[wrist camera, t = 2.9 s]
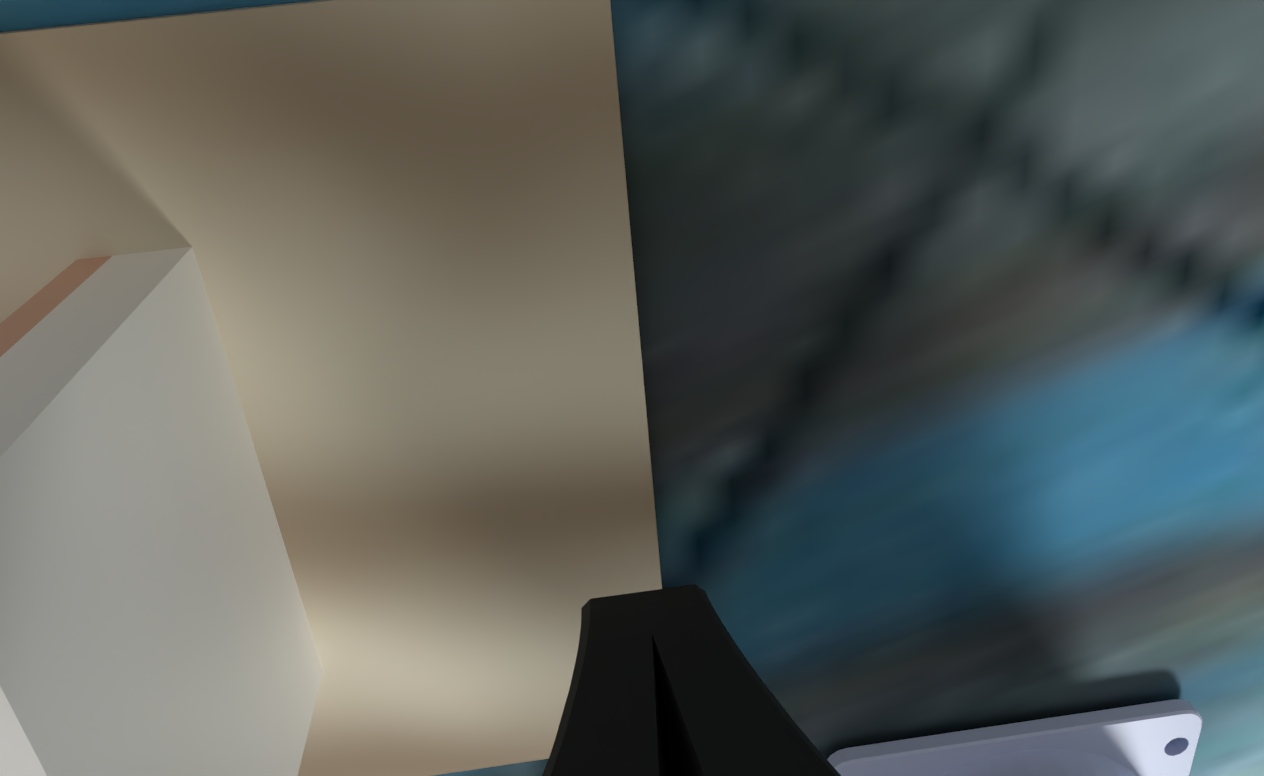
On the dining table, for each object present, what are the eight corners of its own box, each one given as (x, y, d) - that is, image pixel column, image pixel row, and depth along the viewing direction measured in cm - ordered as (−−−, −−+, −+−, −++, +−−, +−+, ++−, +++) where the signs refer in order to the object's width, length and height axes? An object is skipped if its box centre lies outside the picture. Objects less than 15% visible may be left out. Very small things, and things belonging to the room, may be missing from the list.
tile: (323, 670, 17) (217, 1102, 11) (232, 682, 17) (75, 1125, 11) (192, 247, 14) (-75, 540, 7) (76, 259, 14) (-293, 567, 7)
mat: (673, 728, 19) (675, 740, 19) (-265, 864, 18) (-277, 879, 18) (605, -28, 13) (608, -27, 13) (-851, 118, 12) (-882, 122, 12)
